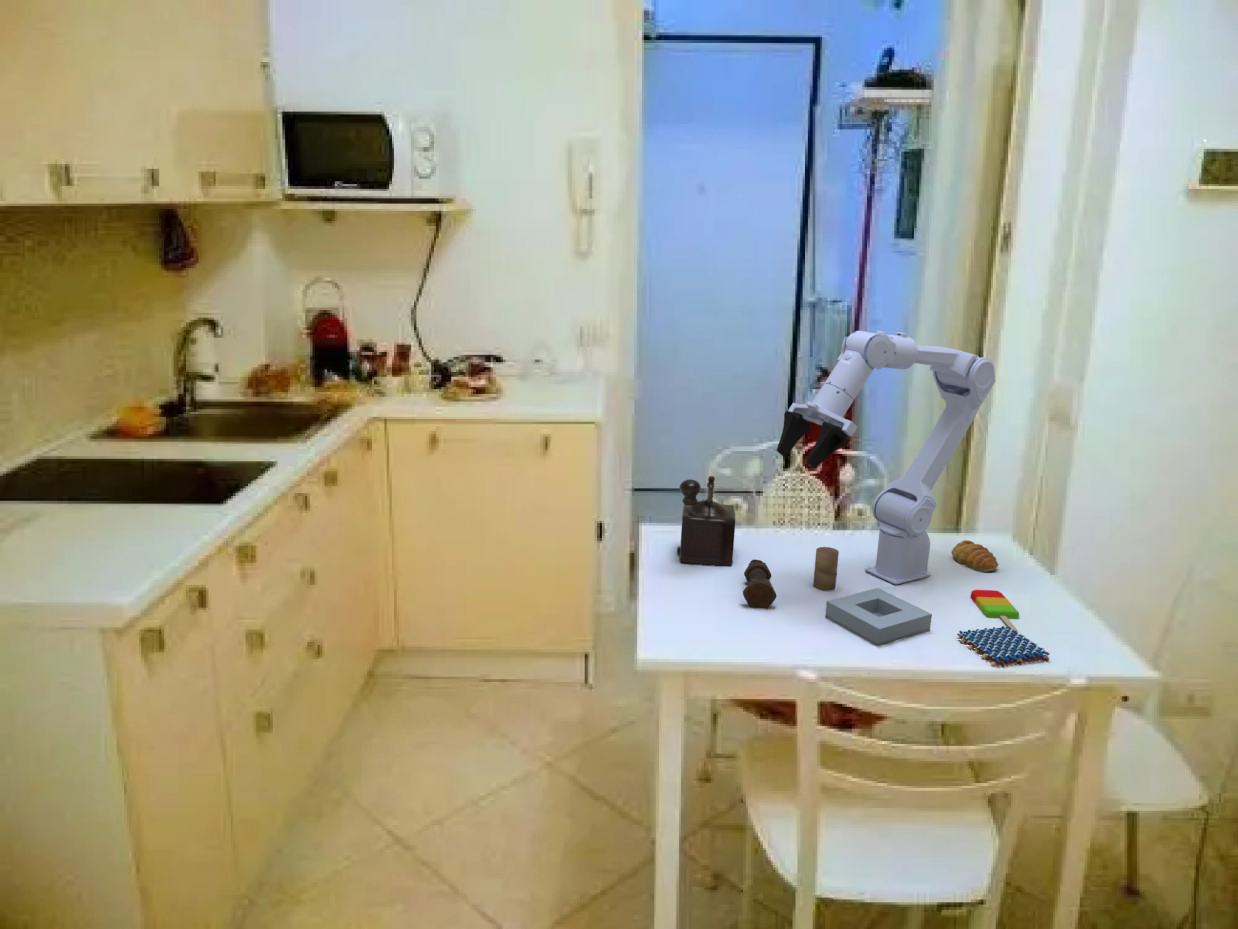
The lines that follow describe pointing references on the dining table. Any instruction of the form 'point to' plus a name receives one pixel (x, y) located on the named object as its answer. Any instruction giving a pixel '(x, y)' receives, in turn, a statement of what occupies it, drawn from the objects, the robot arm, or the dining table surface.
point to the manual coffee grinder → (705, 527)
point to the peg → (825, 568)
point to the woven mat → (1003, 646)
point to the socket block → (878, 616)
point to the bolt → (758, 585)
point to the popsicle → (995, 606)
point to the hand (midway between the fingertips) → (795, 459)
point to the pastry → (974, 556)
